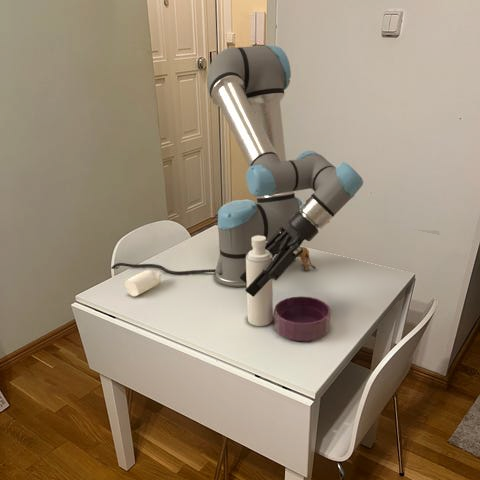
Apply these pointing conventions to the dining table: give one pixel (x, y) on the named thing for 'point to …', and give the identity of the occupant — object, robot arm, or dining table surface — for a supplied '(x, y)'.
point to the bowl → (302, 318)
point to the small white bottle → (142, 282)
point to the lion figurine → (304, 256)
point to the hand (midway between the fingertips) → (246, 286)
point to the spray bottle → (263, 300)
